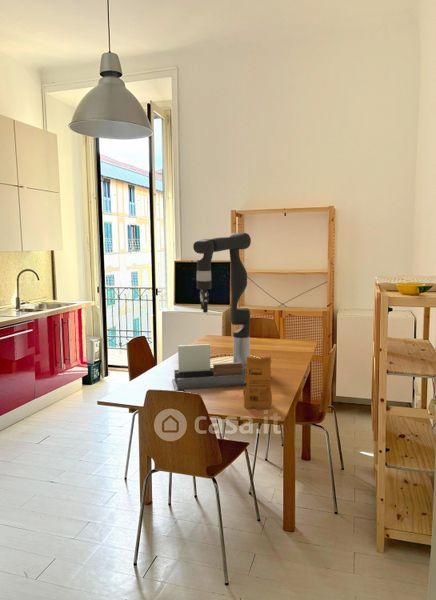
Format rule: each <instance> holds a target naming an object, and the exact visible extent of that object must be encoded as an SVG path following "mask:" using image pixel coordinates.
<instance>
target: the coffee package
mask: <svg viewBox="0 0 436 600" xmlns="http://www.w3.org/2000/svg"><path fill="white" fill-rule="evenodd" d="M271 364H272V357H271V356H267V357H266V356H265V357H260V358H259V357H251V356H250V357H247V363H246V366H245V368H246V374H245V382H244V386H243V392H242V393H243V395H242V396H243V402H244V403H243V405H244V406H243V407H244V408H246V409H258V410H264V409H271V408H272V403H273V396H272V371H271V369H272V368H271V367H272V366H271Z"/></svg>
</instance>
